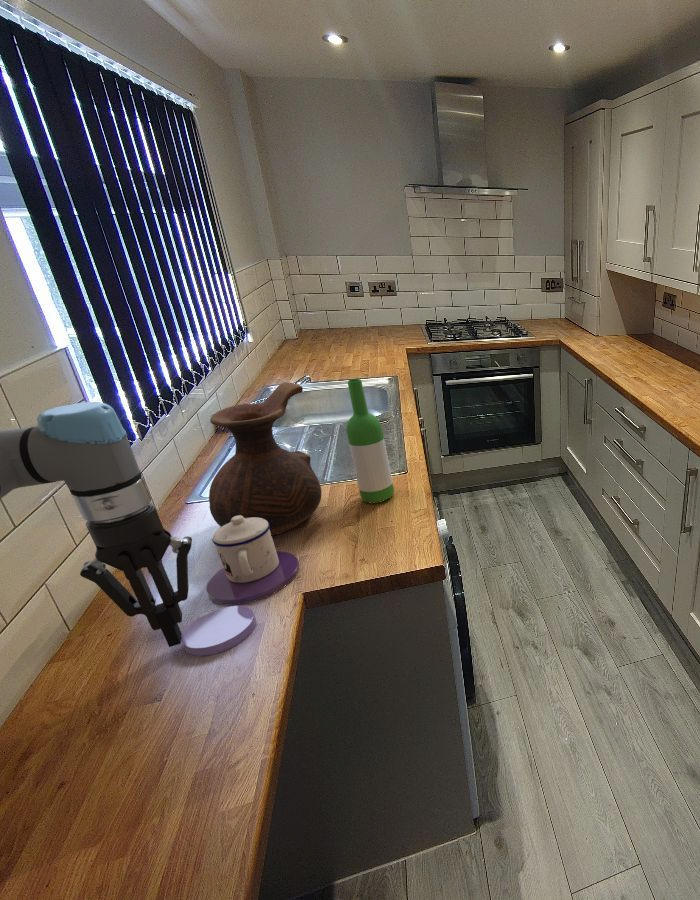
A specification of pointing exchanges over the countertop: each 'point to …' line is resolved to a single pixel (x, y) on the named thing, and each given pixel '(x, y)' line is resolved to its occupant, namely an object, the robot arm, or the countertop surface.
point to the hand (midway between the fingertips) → (175, 640)
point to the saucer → (253, 583)
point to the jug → (263, 468)
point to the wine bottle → (368, 449)
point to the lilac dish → (218, 630)
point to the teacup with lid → (246, 549)
